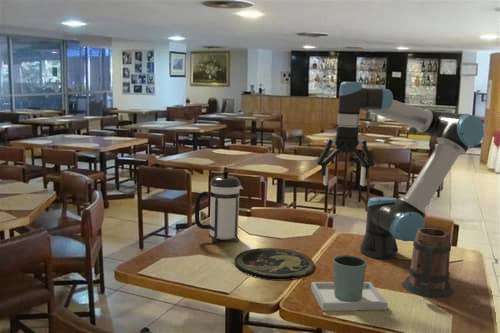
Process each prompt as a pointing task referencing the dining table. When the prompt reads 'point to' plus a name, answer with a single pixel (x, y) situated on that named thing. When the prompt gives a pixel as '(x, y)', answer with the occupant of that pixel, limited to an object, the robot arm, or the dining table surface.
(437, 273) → the tankard
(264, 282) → the dining table surface
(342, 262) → the teal cup
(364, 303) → the tray
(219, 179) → the coffee press
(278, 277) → the decorative plate
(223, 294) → the dining table surface
